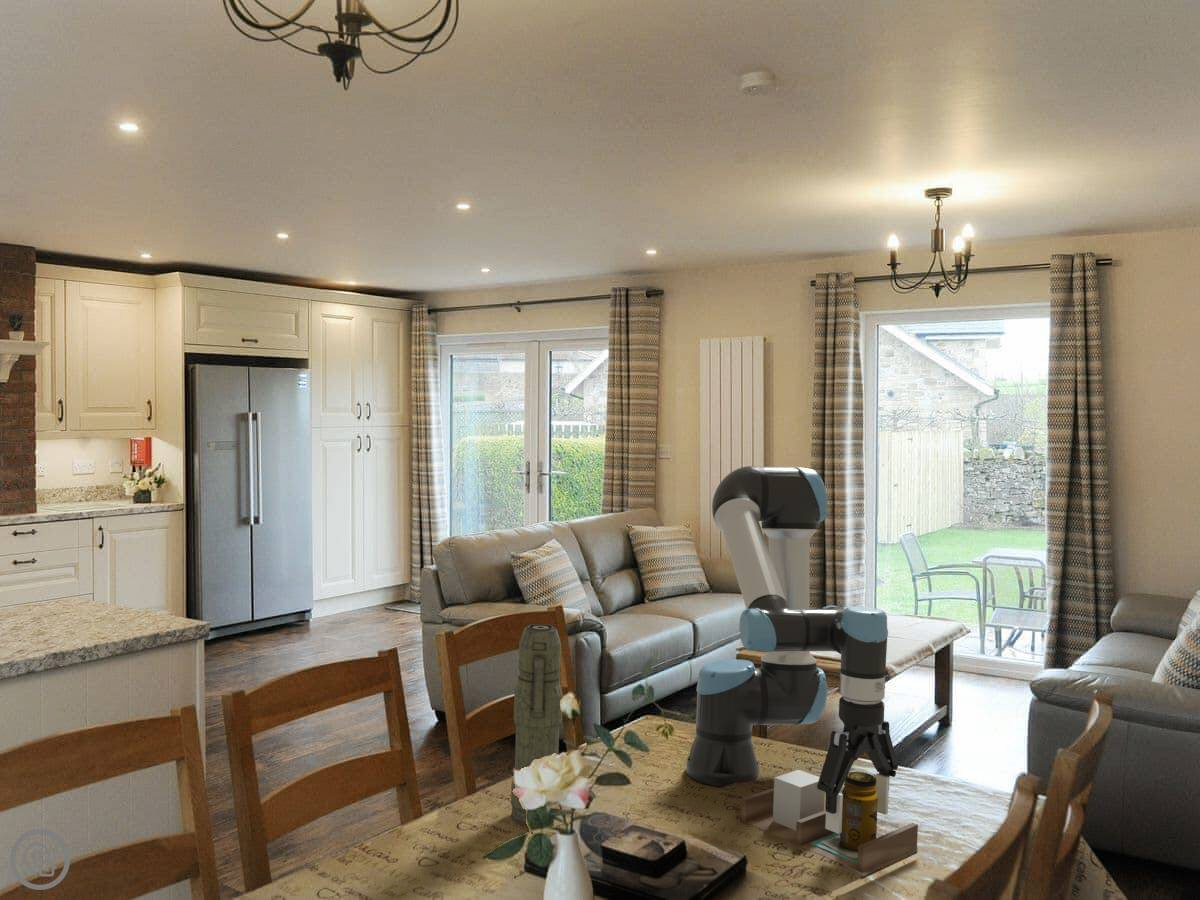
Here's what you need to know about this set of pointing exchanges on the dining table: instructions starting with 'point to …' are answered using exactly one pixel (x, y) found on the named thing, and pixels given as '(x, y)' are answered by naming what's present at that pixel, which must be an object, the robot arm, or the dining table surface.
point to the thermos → (536, 701)
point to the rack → (829, 835)
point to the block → (796, 798)
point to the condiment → (857, 814)
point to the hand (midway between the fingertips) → (857, 821)
